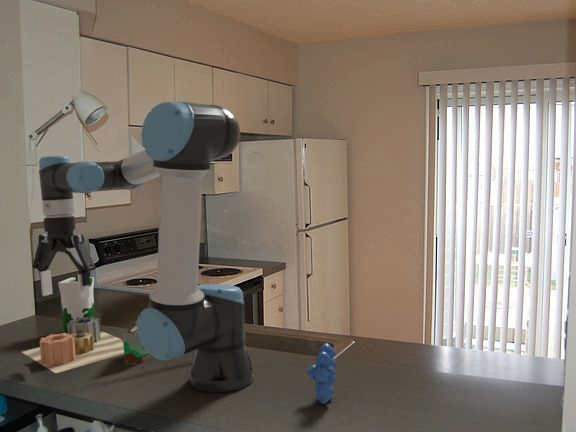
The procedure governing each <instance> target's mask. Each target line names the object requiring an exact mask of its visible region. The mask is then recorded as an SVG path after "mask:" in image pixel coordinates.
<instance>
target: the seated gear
mask: <svg viewBox="0 0 576 432" xmlns="http://www.w3.org/2000/svg"><path fill="white" fill-rule="evenodd" d="M67 324H68V334H76V333H83V332H87V333H93V335H94V342H96V343H97V342H98V341H99V339H100V332H101V331H100V330H101V328H100V327H101V326H100V319H99V318H98V317H97V318H96V317H95V318H94V317H89V318H83V317H82V318H79V319H76V320H71V321H70V323H67Z"/></svg>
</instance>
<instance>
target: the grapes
mask: <svg viewBox="0 0 576 432" xmlns="http://www.w3.org/2000/svg"><path fill="white" fill-rule="evenodd" d="M318 352H319V354H318V355H317V356H316V358H315V361H316V364H315V363H314V364H311V365H310V366H309V367H307V370H306V373H307V375H308V377H309V379H311V380H313V381H314V382H315V387H314V388H313V389H314V392H315V395H316V398H317V400H318V402H319V403H320V404H323V405H326V404H327V403H328V402H329V401H330V399H331V398H332V396H333V394H335V391H334V389H333V387H332V385H334V383H335V382H336V381H337V378H336V375H337V371H336V369H335V368H336V367H337V365H338V364H337V362H336V359H334V357H335V356H336V354H337V352H336V351H335V349H334V348H333V346H331V344H330V343H327V342H326V343H324V344H322V345H321V347H319V349H318Z"/></svg>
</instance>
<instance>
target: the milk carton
mask: <svg viewBox="0 0 576 432" xmlns="http://www.w3.org/2000/svg"><path fill="white" fill-rule="evenodd" d="M78 273H79V272H76V273H75V277H69V278H67V279H64V280H62V281H59V282H58V283H57V285H58V288H59V293H60V303H61V313H62V317H61V318H62V333H66V334H68V324H67V323H70V321H71V320H76V319H79V318H82V317H83V318H89V317H94V318H96V315H95V311H96V310H95V301H94V300H95V298H94V287H95V286H94V285H95V284H94V283H95V277H94V276H92V277H90V285H89V294H90V297H88V298H85V299H79V286H78Z"/></svg>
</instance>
